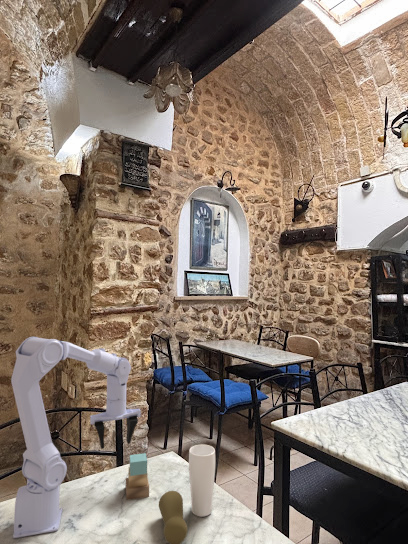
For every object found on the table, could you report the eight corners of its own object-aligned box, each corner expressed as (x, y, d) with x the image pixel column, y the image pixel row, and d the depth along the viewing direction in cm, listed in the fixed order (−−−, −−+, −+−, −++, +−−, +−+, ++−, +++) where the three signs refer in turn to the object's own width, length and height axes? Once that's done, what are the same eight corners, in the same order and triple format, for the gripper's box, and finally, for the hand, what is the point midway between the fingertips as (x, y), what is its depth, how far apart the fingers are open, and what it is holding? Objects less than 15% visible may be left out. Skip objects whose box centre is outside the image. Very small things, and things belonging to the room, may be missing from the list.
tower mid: (128, 487, 90) (128, 475, 91) (128, 477, 95) (128, 466, 95) (147, 485, 92) (147, 473, 92) (146, 475, 96) (146, 464, 97)
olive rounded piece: (175, 518, 83) (182, 554, 72) (154, 510, 82) (157, 545, 71) (187, 495, 84) (195, 527, 73) (165, 487, 83) (170, 518, 72)
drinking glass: (197, 523, 80) (198, 458, 81) (183, 508, 86) (184, 448, 87) (220, 513, 84) (220, 451, 85) (205, 499, 89) (205, 441, 90)
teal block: (130, 476, 91) (130, 462, 91) (129, 467, 95) (129, 455, 95) (147, 473, 92) (147, 460, 92) (145, 465, 96) (145, 453, 96)
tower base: (126, 501, 89) (126, 489, 89) (125, 489, 95) (125, 478, 95) (149, 497, 91) (149, 486, 91) (146, 485, 97) (146, 475, 97)
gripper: (92, 405, 93) (91, 455, 92) (143, 398, 99) (143, 445, 98) (89, 398, 99) (88, 445, 98) (137, 392, 106) (137, 436, 105)
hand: (115, 444), depth 99 cm, fingers open, 7 cm apart
